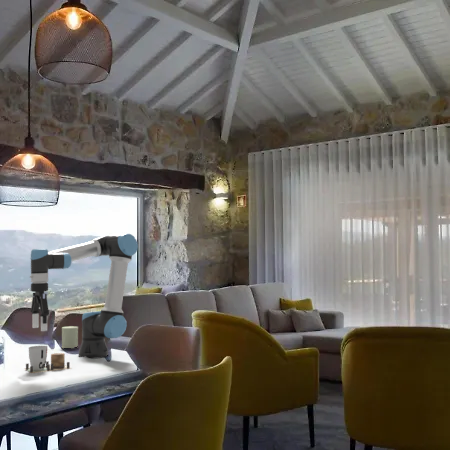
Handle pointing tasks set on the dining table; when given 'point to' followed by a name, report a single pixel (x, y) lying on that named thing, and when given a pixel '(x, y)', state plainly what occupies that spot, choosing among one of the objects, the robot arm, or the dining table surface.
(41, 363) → the cup
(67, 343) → the can
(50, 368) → the pin board
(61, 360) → the wooden round post
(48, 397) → the dining table surface
